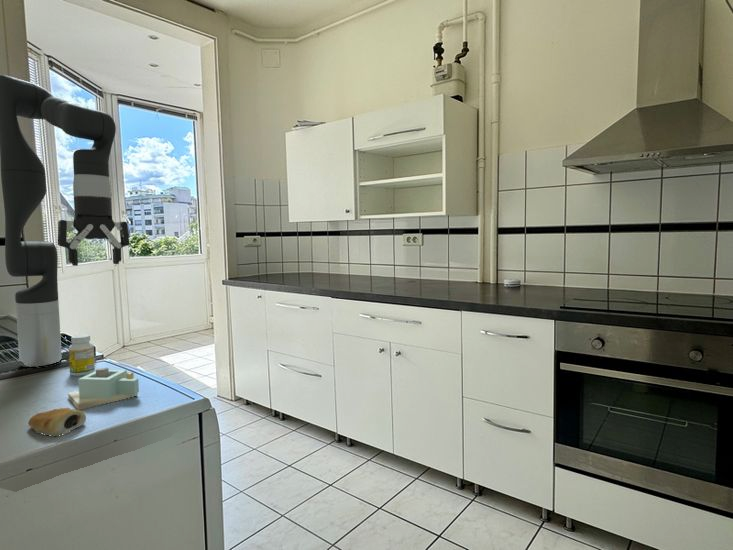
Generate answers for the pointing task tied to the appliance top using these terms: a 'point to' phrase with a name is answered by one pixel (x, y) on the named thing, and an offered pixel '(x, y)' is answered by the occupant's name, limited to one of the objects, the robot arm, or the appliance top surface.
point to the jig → (92, 402)
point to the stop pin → (130, 375)
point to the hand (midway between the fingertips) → (96, 264)
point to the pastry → (57, 421)
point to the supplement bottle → (81, 355)
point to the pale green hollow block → (107, 385)
